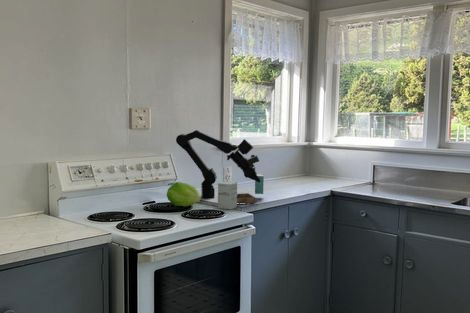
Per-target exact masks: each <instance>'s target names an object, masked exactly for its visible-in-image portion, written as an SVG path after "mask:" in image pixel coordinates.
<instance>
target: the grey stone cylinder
mask: <svg viewBox="0 0 470 313" xmlns="http://www.w3.org/2000/svg"><path fill="white" fill-rule="evenodd" d="M237 194H238V182H234V181H227V180H226V181H220V182H218V183H217V209H223V210H224V209H225V210H233V209H235V208H237V207H238V205H237ZM236 206H237V207H236Z"/></svg>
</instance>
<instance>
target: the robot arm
mask: <svg viewBox="0 0 470 313" xmlns="http://www.w3.org/2000/svg"><path fill="white" fill-rule="evenodd" d="M193 139H197V140H200V141H203V142H205V143H207V144H209V145H211V146H214V147H216V148H218V150H220V151H221V152H222V153H224V154H226V161H229V160H230V159H231V160H232V162H233V163H235V165H236V166H237V168H240V170H241V171H242V173H243V176H244V177H245V178H246V179H247V178H248V179H250V180H253V181H254V182H255V181H257V182H260V179H259V178H258V176H257V175H258V174H257V172H256V167H255V164H256V163H258V162H260V158H259V156H258V155H257V154H256V155H255V154H251V156H250V158H247V157H245V156H244V155H248V153H249V152H250V151H251V150H253V148H254V146H253V145H252V144H251V142H249V141H248V140H246V139H245V138H244V139H243V140H242V141H241V142H240V143H239V144H237V145H236V144H232V143H231V142H229V141H225V140H220V139H218V138H215V137H213V136H211V135H208V134H206V133H203V132H201V131H200V130H198V129H195V130H194V131H192V132H189V133H187V134H184V133H181V134H178V135H177V136H176V139H175V142H176V144H177V145H178V146H179V147H180V148H181V149H183V150H184V151H185V152H186V153H187V154H188V156H189V157H190V159H191V160H192V161H193V162H194V164H195V165H196V166H197V168H198V169H199V170H200V172H201V174H202V175H201V176H202V177H203V181H202V182H201V184H200V185H201V189H200V190H201V194H200V197H201V199H214V198H215V194H216V193H215V192H216V191H215V188H214V185H213V184H215V183H216V181H217V172H215V170H214V169H213V167H211V168H209V167H208V165H207V164H205V162H204V161H203V159H202V158H201V157H200V155H199V154H198V152H197V151H196V149H194V147H193V146H192V143H191V140H193ZM256 174H257V175H256Z"/></svg>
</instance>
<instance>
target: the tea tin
mask: <svg viewBox="0 0 470 313" xmlns="http://www.w3.org/2000/svg"><path fill="white" fill-rule="evenodd" d="M256 175H257V176H258V178H259V179H260V182H257V181H255V180H254V194H255V195H264V183H265V182H264V174H256Z"/></svg>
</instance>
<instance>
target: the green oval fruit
mask: <svg viewBox="0 0 470 313" xmlns="http://www.w3.org/2000/svg"><path fill="white" fill-rule="evenodd" d="M166 197H167V200H168V201H169V202H170V203H172V204H173V206H183V207H189V206H190V207H191V206H192V205H195V204H196V203H199V202H200V201H201V199H202V197H201V194H200V193H199V191H198V190H197V188H196V187H195V186H192V185H191V184H188V183H184V182H180V181H177V182H174V183H172V185H170V186H169V188H168V189H167V191H166Z"/></svg>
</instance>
